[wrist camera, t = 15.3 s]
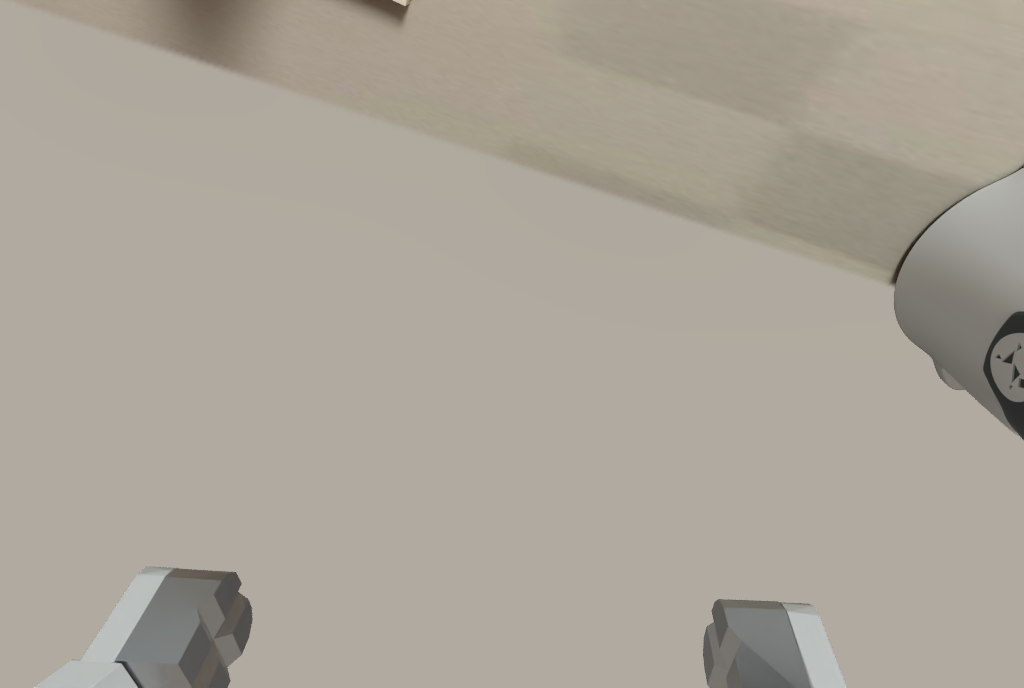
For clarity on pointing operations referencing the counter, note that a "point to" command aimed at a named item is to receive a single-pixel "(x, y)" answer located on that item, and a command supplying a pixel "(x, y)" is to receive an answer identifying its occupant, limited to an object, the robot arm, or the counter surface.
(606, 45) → the counter surface
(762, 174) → the counter surface
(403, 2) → the birch board
